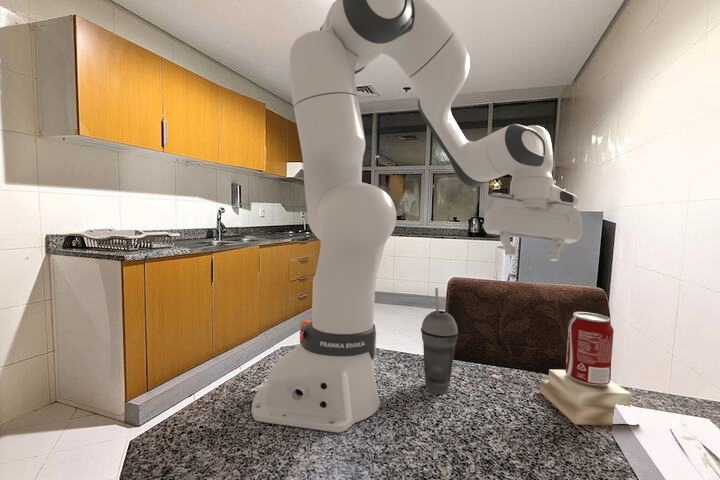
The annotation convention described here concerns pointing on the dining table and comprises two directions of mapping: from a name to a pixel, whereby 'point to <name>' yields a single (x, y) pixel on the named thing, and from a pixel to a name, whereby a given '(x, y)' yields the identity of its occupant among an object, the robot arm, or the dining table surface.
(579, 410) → the cream stepped square block
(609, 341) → the soda can
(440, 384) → the beverage cup
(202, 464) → the dining table surface
